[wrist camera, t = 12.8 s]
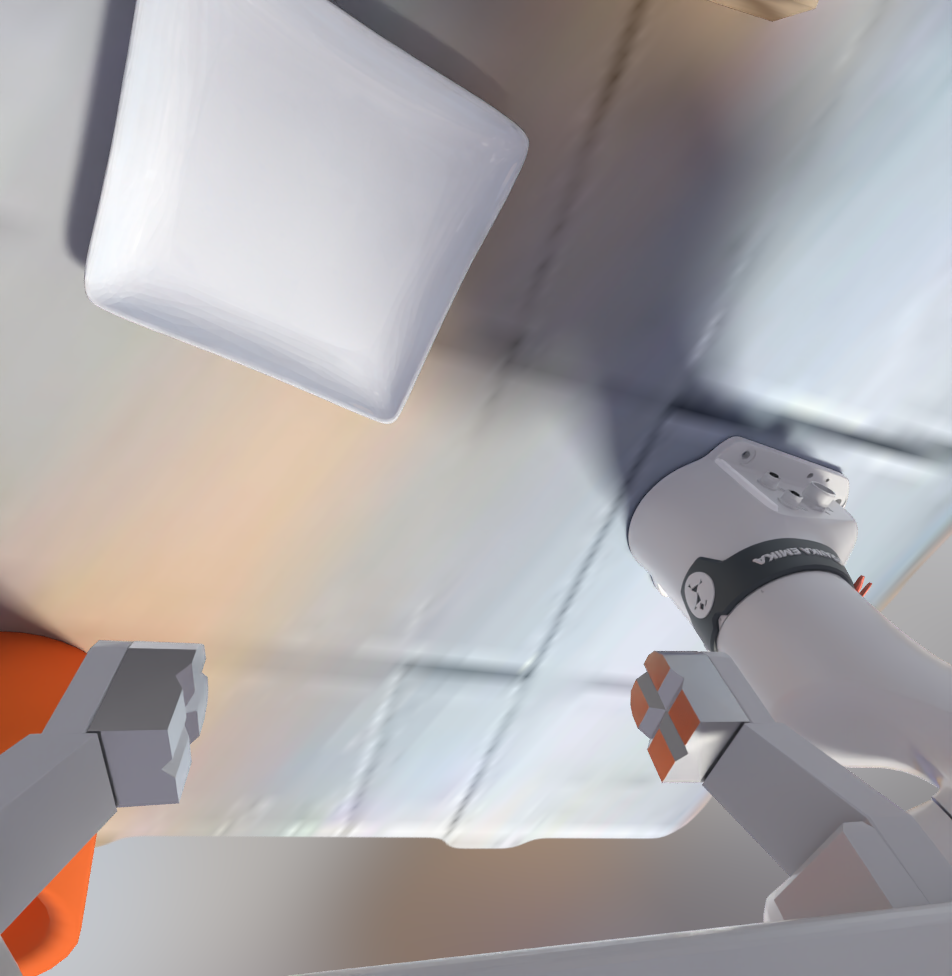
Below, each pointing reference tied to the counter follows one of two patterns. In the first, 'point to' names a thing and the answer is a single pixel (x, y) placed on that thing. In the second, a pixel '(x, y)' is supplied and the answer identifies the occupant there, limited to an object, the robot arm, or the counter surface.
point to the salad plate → (294, 194)
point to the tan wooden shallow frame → (770, 7)
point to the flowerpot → (4, 722)
